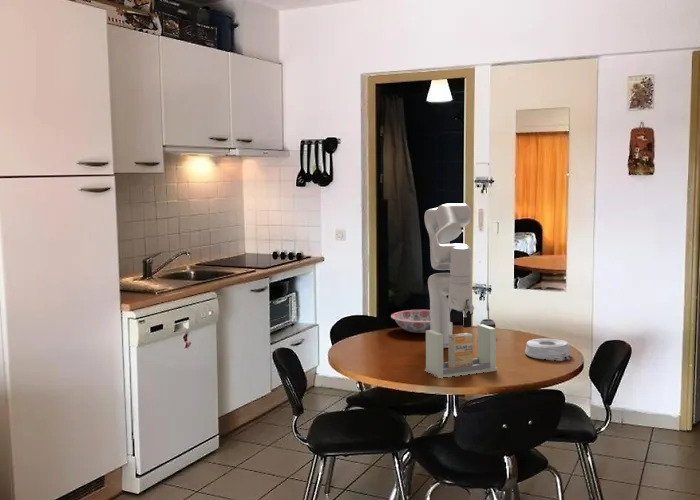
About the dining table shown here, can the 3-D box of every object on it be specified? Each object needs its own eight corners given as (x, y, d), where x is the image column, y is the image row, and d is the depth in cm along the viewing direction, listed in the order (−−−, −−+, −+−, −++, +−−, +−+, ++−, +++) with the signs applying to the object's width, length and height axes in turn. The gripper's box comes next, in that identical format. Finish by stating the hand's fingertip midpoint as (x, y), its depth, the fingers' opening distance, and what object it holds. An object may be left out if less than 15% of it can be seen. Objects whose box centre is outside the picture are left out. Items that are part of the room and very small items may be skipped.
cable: (571, 362, 285) (571, 347, 285) (525, 360, 289) (525, 346, 288) (567, 351, 302) (567, 337, 302) (524, 350, 306) (524, 336, 305)
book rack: (424, 371, 275) (424, 330, 274) (481, 363, 285) (481, 323, 283) (439, 378, 265) (438, 335, 263) (497, 370, 274) (497, 329, 273)
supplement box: (454, 371, 271) (454, 336, 270) (448, 368, 276) (447, 334, 274) (473, 368, 274) (473, 334, 273) (466, 365, 279) (466, 332, 277)
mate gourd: (486, 340, 325) (486, 306, 324) (475, 336, 332) (475, 304, 330) (499, 337, 329) (499, 305, 327) (487, 334, 336) (487, 302, 334)
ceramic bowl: (387, 326, 358) (387, 310, 357) (446, 324, 360) (446, 308, 359) (394, 339, 329) (394, 322, 329) (458, 337, 331) (458, 320, 330)
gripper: (440, 277, 278) (440, 320, 280) (463, 284, 262) (463, 330, 264) (457, 275, 281) (457, 318, 283) (481, 282, 265) (481, 328, 267)
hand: (460, 324), depth 274 cm, fingers open, 9 cm apart
